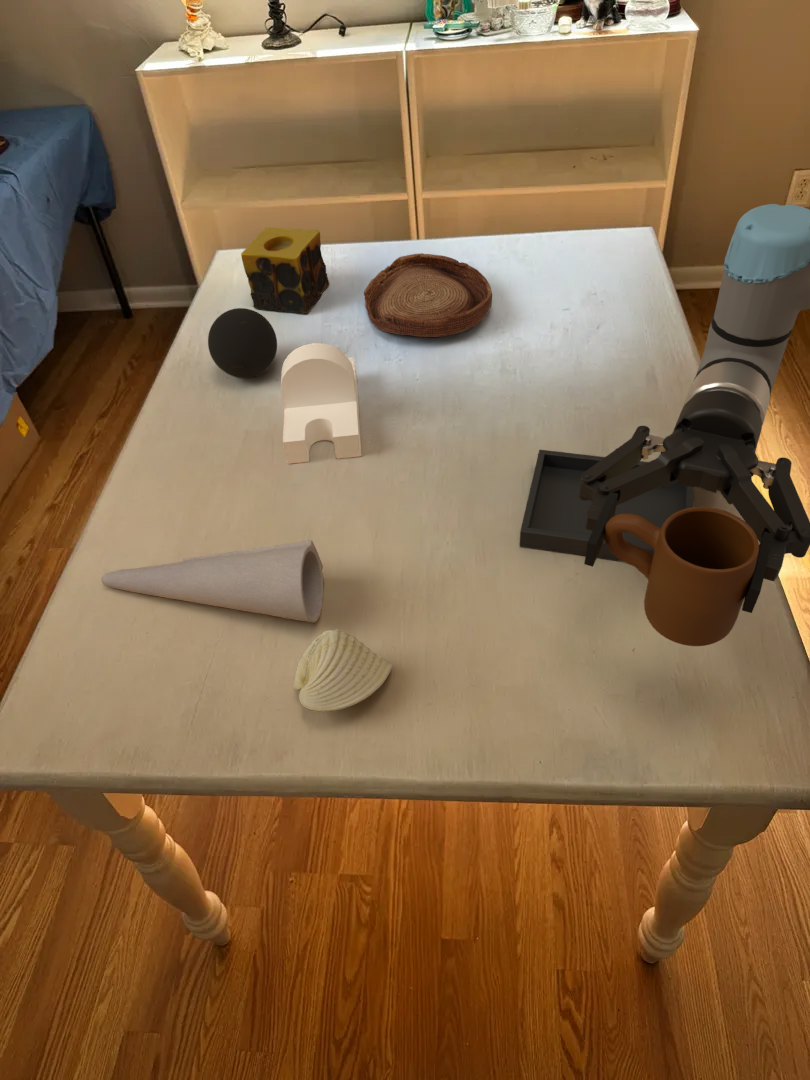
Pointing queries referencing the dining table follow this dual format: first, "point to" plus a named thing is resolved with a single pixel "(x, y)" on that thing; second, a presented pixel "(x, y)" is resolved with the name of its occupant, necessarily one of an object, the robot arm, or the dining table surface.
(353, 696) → the seashell
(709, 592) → the mug
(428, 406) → the dining table surface
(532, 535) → the tray
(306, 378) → the block with arch cutout
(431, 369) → the dining table surface
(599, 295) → the dining table surface
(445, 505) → the dining table surface
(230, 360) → the speaker
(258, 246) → the candle
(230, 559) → the planter
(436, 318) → the basket
